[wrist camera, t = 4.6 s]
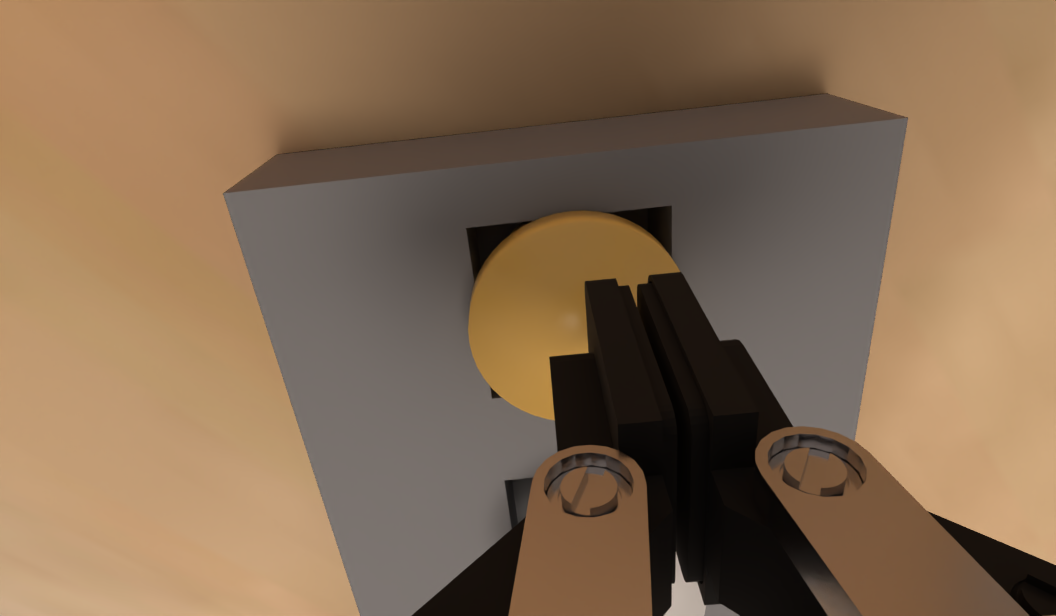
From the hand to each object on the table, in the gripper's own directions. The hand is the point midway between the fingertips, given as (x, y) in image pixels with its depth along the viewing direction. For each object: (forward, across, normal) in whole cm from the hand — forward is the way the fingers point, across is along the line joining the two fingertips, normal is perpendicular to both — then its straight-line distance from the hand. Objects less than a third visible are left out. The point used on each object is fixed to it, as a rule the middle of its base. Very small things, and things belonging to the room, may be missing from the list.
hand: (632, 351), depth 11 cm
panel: (+6, +1, +8) cm, 10 cm away
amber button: (+5, +1, +1) cm, 5 cm away
